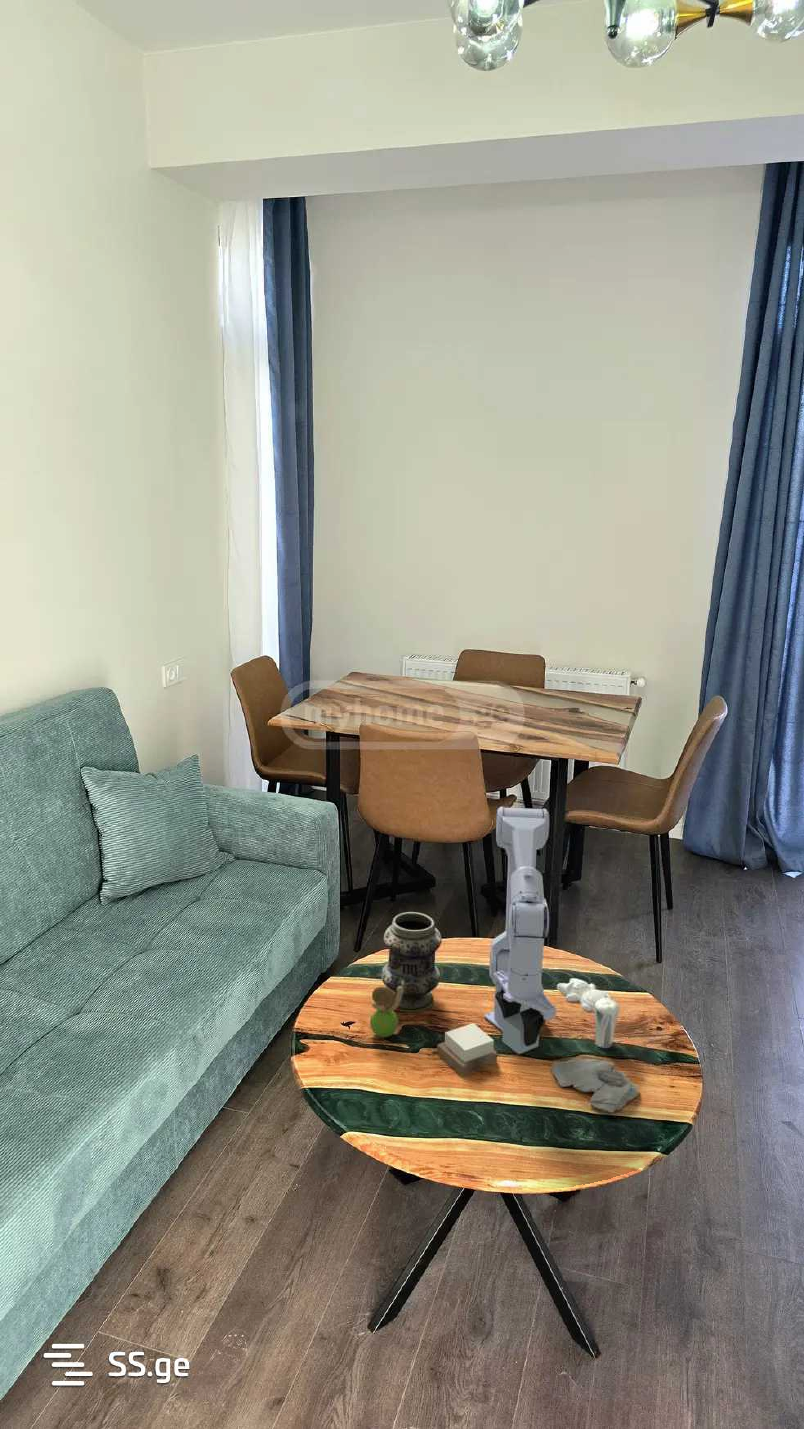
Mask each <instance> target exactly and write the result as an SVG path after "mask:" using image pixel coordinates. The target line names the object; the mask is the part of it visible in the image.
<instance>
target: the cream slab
mask: <svg viewBox="0 0 804 1429" xmlns="http://www.w3.org/2000/svg"><path fill="white" fill-rule="evenodd" d="M444 1042H445V1045H446V1046H447V1047H448V1048H449V1049H450V1050H451V1051H452V1052H454V1053H455V1054H456V1055H457V1056H458V1057H459V1058H460V1059H461V1060H462V1061H463V1062H464V1063H465V1062H468V1061H470V1060H473V1059H476V1058H479V1057H481V1056H484V1055H487V1054H490V1053H492V1052H493V1050H494V1045H495V1044H494V1042H495V1040H494V1039H493V1038H492V1037H491V1036H489V1035H488V1034H487V1033H486V1032H484V1031H483V1030H482V1029H481V1028H480V1027H479V1026H477V1025H476V1024H475V1023H474V1022H473V1023H470V1024H465V1025H463V1026H461V1027H458V1028H455V1029H452V1030H449V1031H445V1032H444Z"/></svg>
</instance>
